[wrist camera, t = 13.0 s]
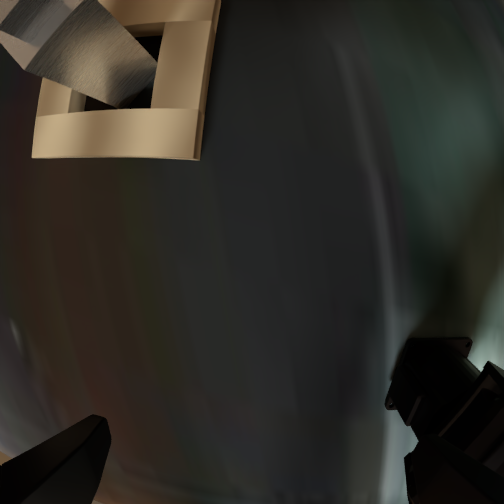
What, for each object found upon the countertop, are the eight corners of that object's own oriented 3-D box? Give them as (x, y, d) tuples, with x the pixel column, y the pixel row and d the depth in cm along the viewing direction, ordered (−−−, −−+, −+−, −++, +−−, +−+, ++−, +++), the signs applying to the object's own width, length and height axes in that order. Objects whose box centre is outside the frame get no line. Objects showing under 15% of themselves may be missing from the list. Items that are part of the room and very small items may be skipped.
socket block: (221, 1, 16) (217, -14, 14) (199, 160, 18) (193, 158, 16) (75, 17, 16) (62, 7, 14) (48, 158, 18) (31, 157, 16)
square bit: (163, 69, 17) (64, -32, 5) (123, 111, 17) (-11, 57, 6) (129, 41, 16) (26, -52, 5) (92, 81, 17) (-36, 23, 5)
